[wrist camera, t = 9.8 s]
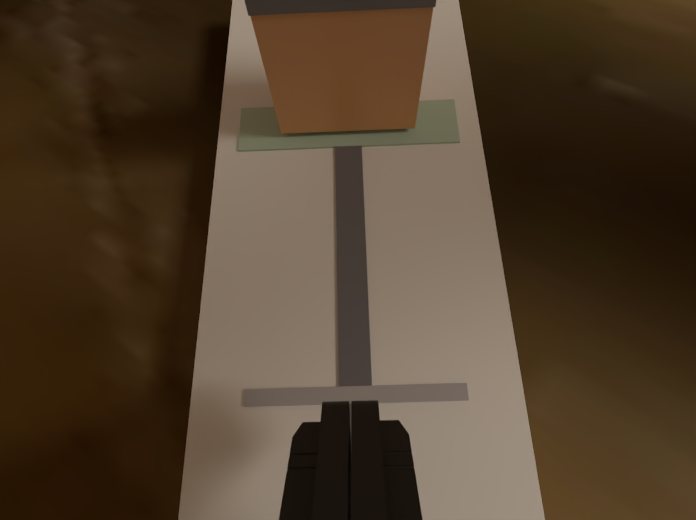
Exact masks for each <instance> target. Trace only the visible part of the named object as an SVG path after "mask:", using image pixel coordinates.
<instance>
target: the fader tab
mask: <svg viewBox="0 0 696 520" xmlns="http://www.w3.org/2000/svg"><path fill="white" fill-rule="evenodd" d="M244 1H245V5H246V9H247V12H248V16H251V20H252V24H253V28H254V32H255V35H256V39H257V43H258V47H259V51H260V55H261V58H262V62H263V66H264V70H265V74H266V77H267V81H268V85H269V89H270V93H271V96H272V100H273V104H274V108H275V112H276V115H277V119H278V123H279V127H280V131H281V134H287V133H312V132H336V131H360V130H384V129H408V128H415V124H416V118H417V111H418V105H419V98H420V92H421V85H422V79H423V72H424V66H425V59H426V53H427V46H428V40H429V33H430V27H431V20H432V14H433V7H435V6H436V0H244Z"/></svg>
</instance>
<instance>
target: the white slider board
mask: <svg viewBox="0 0 696 520" xmlns="http://www.w3.org/2000/svg"><path fill="white" fill-rule="evenodd" d="M367 400H378V404H379V417H380V420H399V421H400V422H401V424H402V425H403V427H404V428H405V429H406V431H407V432H408V434H409V437H410V443H411V450H412V456H413V463H414V469H415V475H416V482H417V488H418V494H419V501H420V507H421V513H422V520H545V518H544V512H543V506H542V500H541V494H540V488H539V482H538V476H537V470H536V464H535V457H534V451H533V445H532V439H531V433H530V427H529V421H528V415H527V409H526V403H525V397H524V391H523V385H522V379H521V373H520V367H519V361H518V355H517V349H516V343H515V337H514V331H513V325H512V319H511V313H510V307H509V301H508V295H507V289H506V283H505V277H504V271H503V265H502V259H501V253H500V247H499V241H498V235H497V229H496V223H495V217H494V211H493V205H492V199H491V193H490V187H489V181H488V175H487V169H486V163H485V157H484V151H483V145H482V139H481V133H480V127H479V121H478V115H477V109H476V103H475V97H474V91H473V85H472V79H471V73H470V67H469V61H468V55H467V49H466V43H465V37H464V31H463V25H462V19H461V13H460V7H459V1H458V0H436V6H435V7H433V14H432V20H431V27H430V33H429V40H428V46H427V53H426V59H425V66H424V72H423V79H422V85H421V92H420V98H419V105H418V111H417V118H416V124H415V128H408V129H384V130H360V131H336V132H312V133H287V134H281V131H280V127H279V123H278V119H277V115H276V112H275V108H274V104H273V100H272V96H271V93H270V89H269V85H268V81H267V77H266V74H265V70H264V66H263V62H262V58H261V55H260V51H259V47H258V43H257V39H256V35H255V32H254V28H253V24H252V20H251V16H248V12H247V9H246V5H245V1H244V0H233V2H232V11H231V21H230V30H229V40H228V50H227V59H226V69H225V78H224V88H223V97H222V107H221V116H220V126H219V135H218V145H217V154H216V164H215V173H214V183H213V192H212V202H211V212H210V221H209V231H208V240H207V250H206V259H205V269H204V278H203V288H202V297H201V307H200V316H199V326H198V335H197V345H196V354H195V364H194V373H193V383H192V393H191V402H190V412H189V421H188V431H187V440H186V450H185V459H184V469H183V478H182V488H181V497H180V507H179V516H178V520H279V515H280V509H281V503H282V497H283V491H284V485H285V479H286V473H287V467H288V461H289V457H290V449H291V443H292V437H293V435H294V434H295V432H296V431H297V430H298V428H299V427H300V425H301V424H302V422H320V421H321V410H322V402H328V401H349V405H350V429H351V402H352V401H367Z"/></svg>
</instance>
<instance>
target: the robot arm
mask: <svg viewBox="0 0 696 520" xmlns="http://www.w3.org/2000/svg"><path fill="white" fill-rule="evenodd" d="M279 520H422V513H421V507H420V501H419V494H418V488H417V482H416V475H415V469H414V463H413V456H412V450H411V443H410V437H409V434H408V432H407V431H406V429H405V428H404V427H403V425H402V424H401V422H400V421H399V420H380V417H379V404H378V400H367V401H352V402H351V429H350V405H349V401H328V402H322V410H321V421H320V422H302V424H301V425H300V427H299V428H298V430H297V431H296V432H295V434H294V435H293V437H292V443H291V449H290V457H289V461H288V467H287V473H286V479H285V485H284V491H283V497H282V503H281V509H280V515H279Z"/></svg>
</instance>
